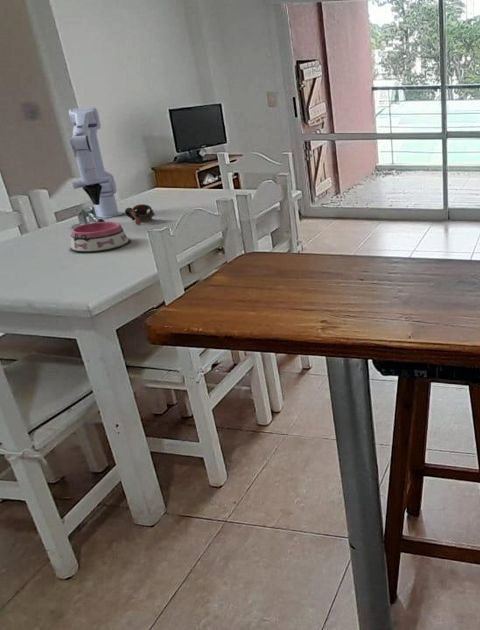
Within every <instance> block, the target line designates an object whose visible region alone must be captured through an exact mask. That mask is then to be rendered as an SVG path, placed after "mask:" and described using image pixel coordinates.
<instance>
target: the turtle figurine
mask: <svg viewBox="0 0 480 630" xmlns="http://www.w3.org/2000/svg"><path fill="white" fill-rule="evenodd" d="M124 213H125V215H126V216H127V218H129V219H131V221H134V222H135V225H137V226H140V225H141V223H144V222H147V221H150V220H153V217H154V216H156V214H155V213H154V210H153V208H152V207H151V206H150V205H148V204H144V203H143V204H142V203H139V204H136V205H134V206H133V207H127V208H125V210H124Z"/></svg>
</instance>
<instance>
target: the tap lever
mask: <svg viewBox="0 0 480 630" xmlns="http://www.w3.org/2000/svg"><path fill="white" fill-rule="evenodd" d="M82 209H84V211H85V215H86V218H87V217H88V218H89V217H90V218H92V219H93V220H94V221H96V222H106V221H105V220H104V218H99V217H97V216H96V217H95V216H94V215H92V214H91V211H90V210H89V209H88V208H86V207H84V208H82Z"/></svg>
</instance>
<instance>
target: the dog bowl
mask: <svg viewBox="0 0 480 630" xmlns="http://www.w3.org/2000/svg"><path fill="white" fill-rule="evenodd" d="M129 243H130V240H129V238H128V236H127V235H126V233H125V230H124V228H123V226H122V225H121V224H120V223H119V222H116V221H105V222H96V223H89V224H84V225H80V226H77V227H75V228H72V229H71V234H70V250H71V251H73V252H76V253H83V254H84V253H87V254H88V253H101V252H107V251H111V250H115V249H119V248H123V247H124V246H126V245H128V244H129Z"/></svg>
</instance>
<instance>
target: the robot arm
mask: <svg viewBox="0 0 480 630" xmlns="http://www.w3.org/2000/svg"><path fill="white" fill-rule="evenodd" d="M68 115H69V119H70V122H71V124H72V125H73V128H72V136H71V137H69V145H70V148H71V150H72V152H73V156H74V158H75V160H76V163H77V167H78V171H79V175H80V179H81V180H79V181H76V182H70V183H69V186H70V189H71V190H77V189H81V188H82V190H83V191H84V192H85V193H86V194H87V195H88V198H89V199H90V200H91V202H92V204H93V207H94V209H95V213H96V217H97V218H101V219H108V218H109V219H110V218H113V217H118V216H122V215H124V213H123V212H119V209H118V204H117V200H116V197H115V194H116V193H117V192H118V188H117V184H116V180H115V177H114V175H113V174H112V173H110V172H108V171H107V170H105V166H104V161H103V157H102V151H101V147H100V144H99V139H98V130H100V129H101V128H102V127H101V125H102V124H101V120H100V115H99V111H98V109H97V108H96V107H95V106H94V107H82V108H81V107H79V108H69V110H68Z"/></svg>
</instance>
